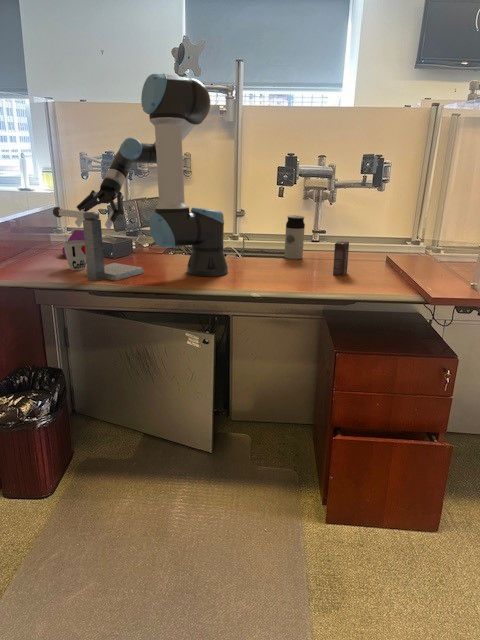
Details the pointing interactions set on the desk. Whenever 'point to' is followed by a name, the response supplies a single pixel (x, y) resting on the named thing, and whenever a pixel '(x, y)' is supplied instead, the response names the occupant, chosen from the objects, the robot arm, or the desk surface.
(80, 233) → the mounting bracket
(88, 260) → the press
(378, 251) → the desk surface
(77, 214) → the lever
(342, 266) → the box
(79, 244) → the cup
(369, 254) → the desk surface
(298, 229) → the travel mug
